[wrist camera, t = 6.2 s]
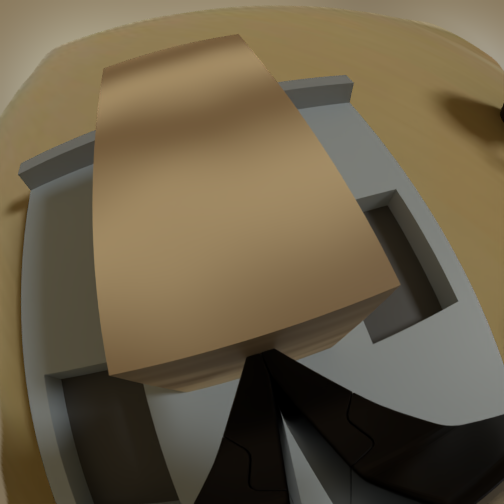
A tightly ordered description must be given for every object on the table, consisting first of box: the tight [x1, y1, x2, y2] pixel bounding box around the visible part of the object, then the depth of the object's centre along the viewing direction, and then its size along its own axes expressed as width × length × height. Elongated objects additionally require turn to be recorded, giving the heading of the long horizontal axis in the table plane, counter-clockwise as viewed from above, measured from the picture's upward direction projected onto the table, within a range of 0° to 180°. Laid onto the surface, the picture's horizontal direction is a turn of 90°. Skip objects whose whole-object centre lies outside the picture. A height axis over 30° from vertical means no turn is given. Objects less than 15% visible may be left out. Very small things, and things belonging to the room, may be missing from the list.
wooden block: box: [92, 34, 401, 392], centre depth 13 cm, size 14×7×8 cm, turn 17°
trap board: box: [18, 75, 504, 504], centre depth 13 cm, size 39×26×4 cm, turn 18°
